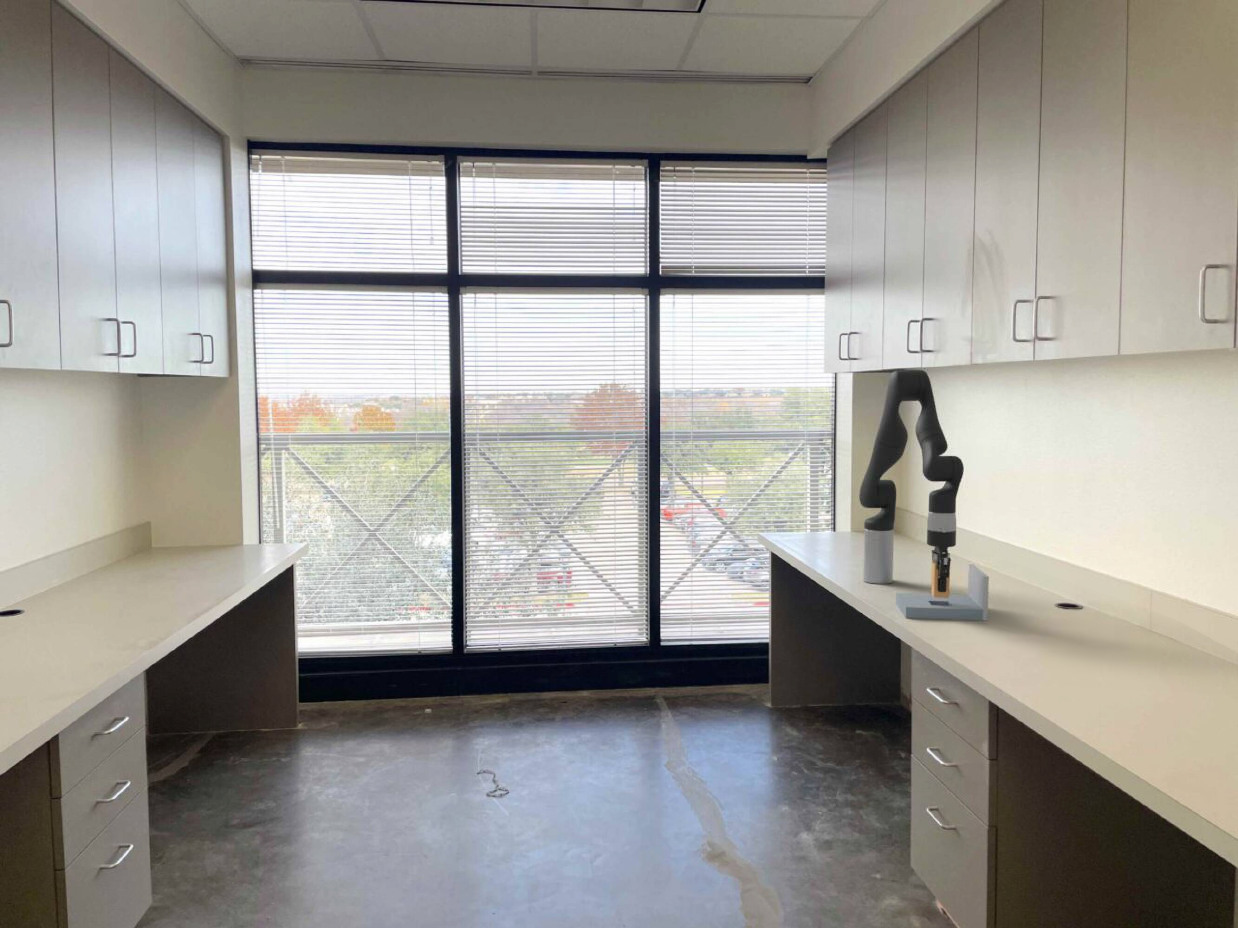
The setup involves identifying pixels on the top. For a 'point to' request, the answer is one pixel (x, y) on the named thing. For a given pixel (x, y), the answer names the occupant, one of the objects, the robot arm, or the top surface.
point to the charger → (935, 584)
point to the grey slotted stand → (950, 601)
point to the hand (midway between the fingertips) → (940, 589)
